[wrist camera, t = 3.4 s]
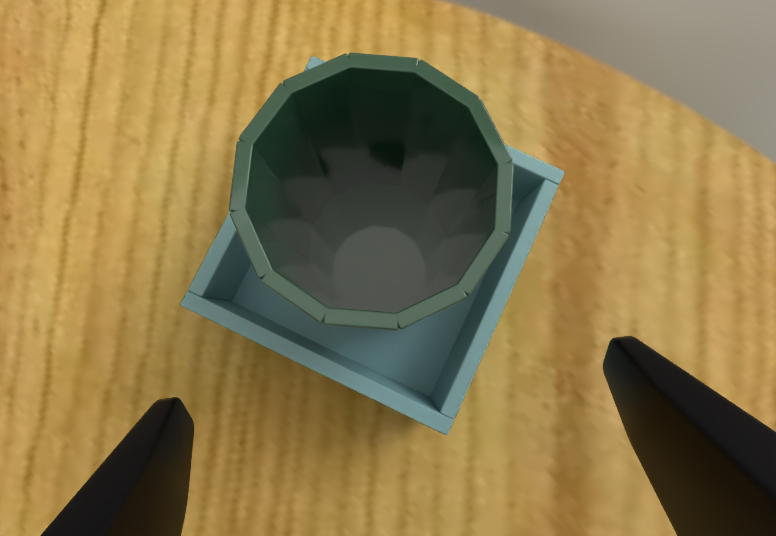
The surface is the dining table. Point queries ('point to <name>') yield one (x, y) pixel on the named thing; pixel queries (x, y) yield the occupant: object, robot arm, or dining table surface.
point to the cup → (372, 191)
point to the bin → (377, 346)
